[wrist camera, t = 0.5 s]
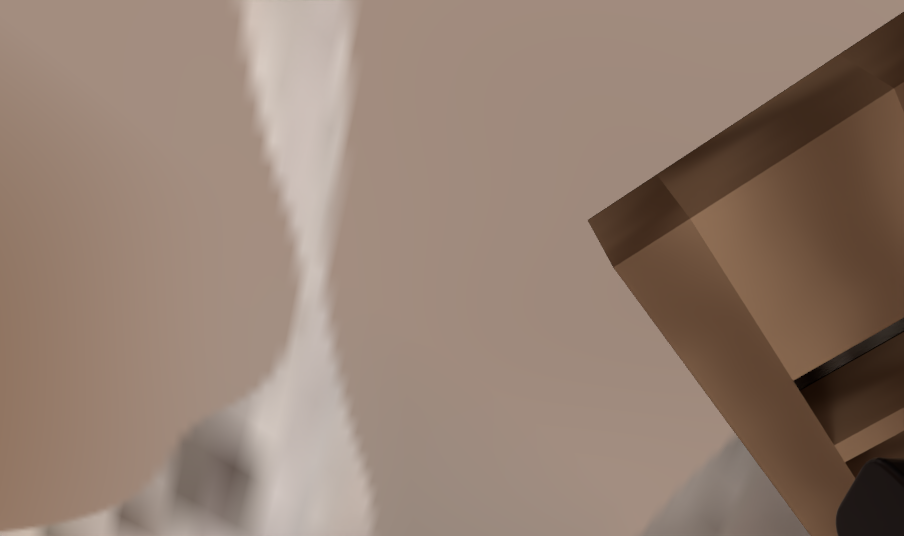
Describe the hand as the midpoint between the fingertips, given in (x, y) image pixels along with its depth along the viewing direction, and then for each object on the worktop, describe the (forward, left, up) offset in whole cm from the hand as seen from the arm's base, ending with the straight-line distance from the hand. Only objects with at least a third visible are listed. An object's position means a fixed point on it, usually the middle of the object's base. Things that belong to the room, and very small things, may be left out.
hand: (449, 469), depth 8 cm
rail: (-10, -17, -14) cm, 24 cm away
